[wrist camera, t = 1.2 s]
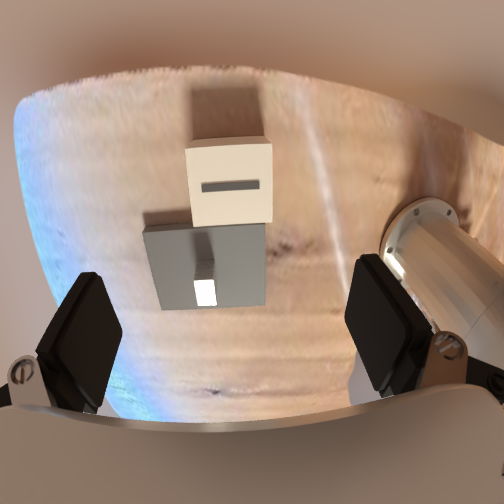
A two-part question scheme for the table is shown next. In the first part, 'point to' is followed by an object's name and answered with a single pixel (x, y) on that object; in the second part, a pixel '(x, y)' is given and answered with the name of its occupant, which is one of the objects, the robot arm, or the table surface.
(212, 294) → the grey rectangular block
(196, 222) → the cream coin box
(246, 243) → the plate
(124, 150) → the table surface
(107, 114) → the table surface
